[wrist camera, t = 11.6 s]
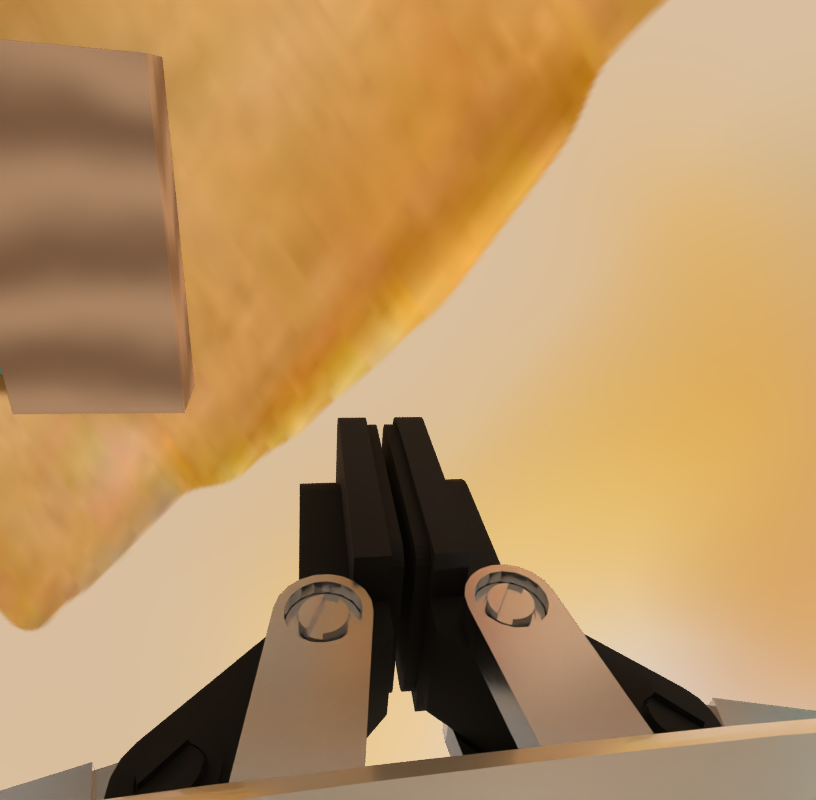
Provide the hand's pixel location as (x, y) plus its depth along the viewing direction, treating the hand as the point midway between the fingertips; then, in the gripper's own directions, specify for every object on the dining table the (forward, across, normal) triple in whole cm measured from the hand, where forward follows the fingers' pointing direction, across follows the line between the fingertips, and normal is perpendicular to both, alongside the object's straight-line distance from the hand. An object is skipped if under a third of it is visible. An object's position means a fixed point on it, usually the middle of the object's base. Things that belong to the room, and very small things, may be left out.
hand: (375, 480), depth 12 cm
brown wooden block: (+29, +14, +2) cm, 32 cm away
